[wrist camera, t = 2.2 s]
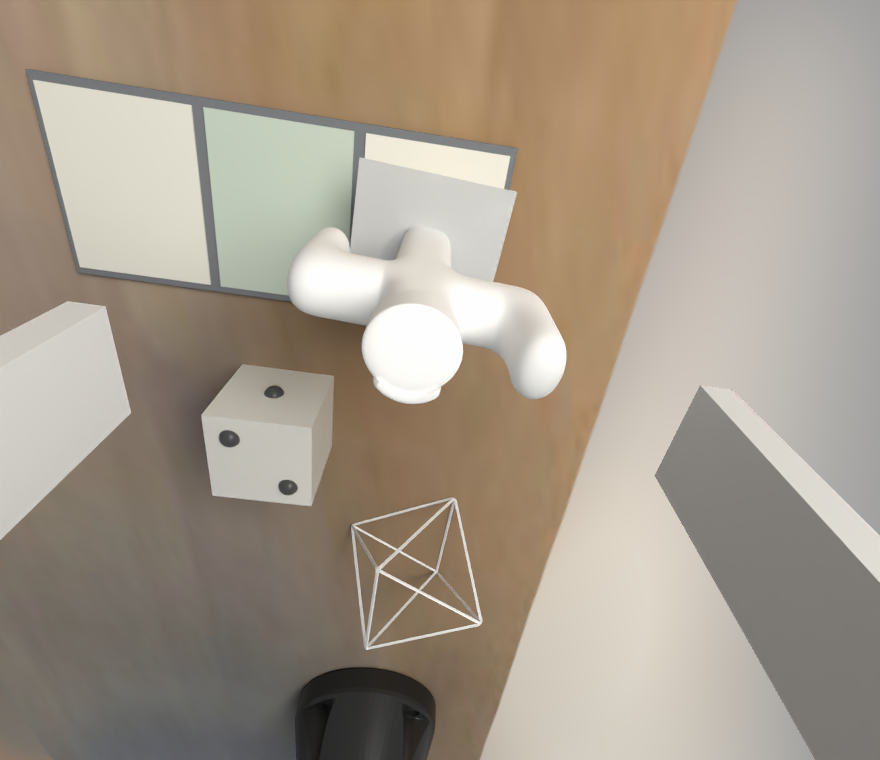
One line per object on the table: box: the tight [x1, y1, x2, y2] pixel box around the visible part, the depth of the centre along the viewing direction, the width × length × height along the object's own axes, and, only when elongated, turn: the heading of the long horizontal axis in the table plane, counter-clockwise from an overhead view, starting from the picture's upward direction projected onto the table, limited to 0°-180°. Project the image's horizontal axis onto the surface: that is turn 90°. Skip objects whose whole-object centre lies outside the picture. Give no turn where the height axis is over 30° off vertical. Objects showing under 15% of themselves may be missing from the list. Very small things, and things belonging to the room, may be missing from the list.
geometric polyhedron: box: [351, 497, 482, 650], centre depth 35 cm, size 10×9×8 cm
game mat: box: [25, 69, 518, 302], centre depth 25 cm, size 10×24×1 cm, turn 82°
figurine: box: [287, 157, 566, 404], centre depth 19 cm, size 7×9×15 cm
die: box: [201, 364, 334, 506], centre depth 29 cm, size 6×6×6 cm
